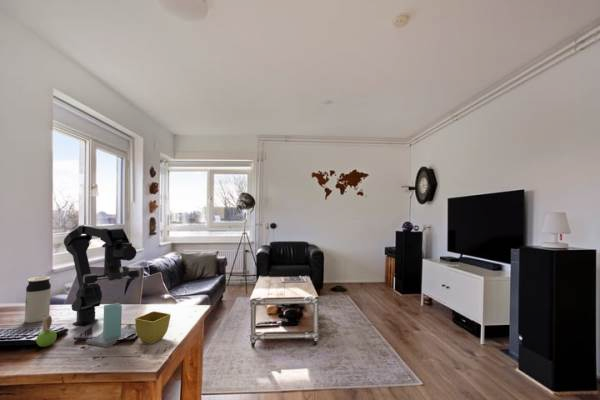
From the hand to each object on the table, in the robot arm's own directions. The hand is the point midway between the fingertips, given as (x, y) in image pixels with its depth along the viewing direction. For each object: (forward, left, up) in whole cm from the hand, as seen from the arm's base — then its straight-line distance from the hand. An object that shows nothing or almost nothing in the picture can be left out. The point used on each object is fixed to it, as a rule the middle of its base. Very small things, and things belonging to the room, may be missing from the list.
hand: (111, 297), depth 116 cm
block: (+8, -6, -12) cm, 15 cm away
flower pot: (+24, -3, -13) cm, 27 cm away
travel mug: (-39, -2, -13) cm, 41 cm away
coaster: (+8, -6, -13) cm, 16 cm away
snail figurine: (-8, -18, -13) cm, 24 cm away
